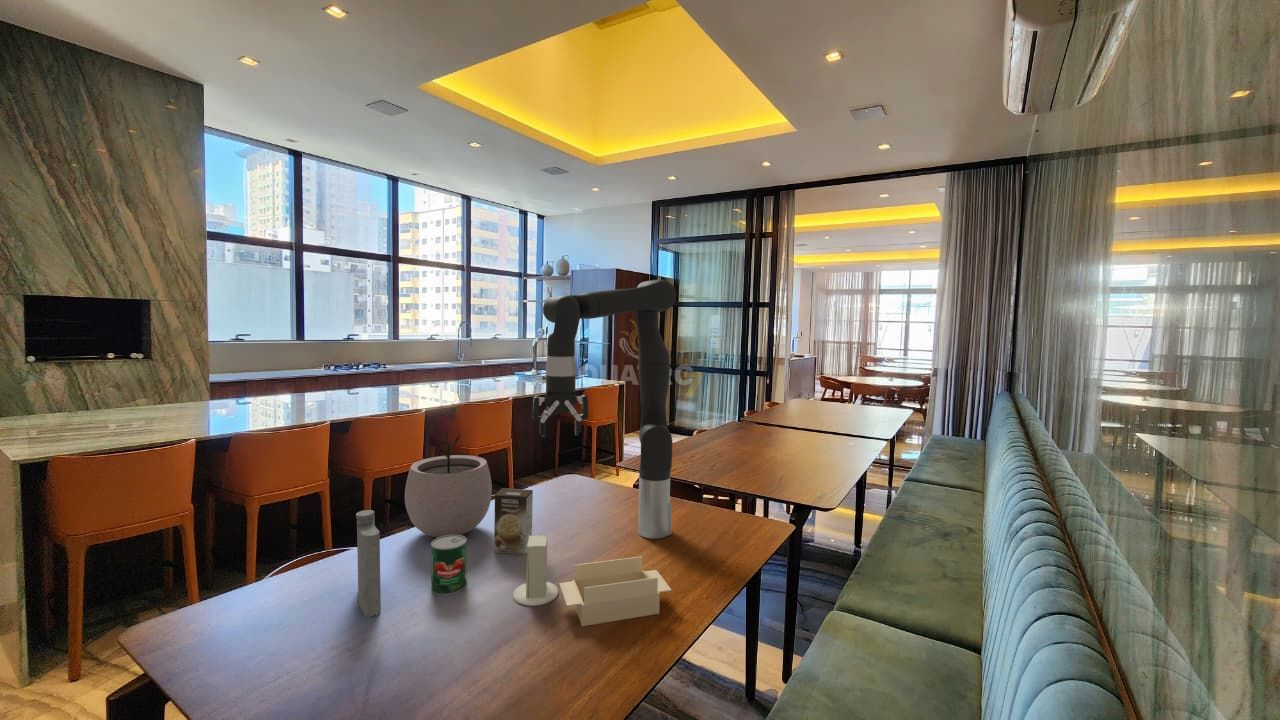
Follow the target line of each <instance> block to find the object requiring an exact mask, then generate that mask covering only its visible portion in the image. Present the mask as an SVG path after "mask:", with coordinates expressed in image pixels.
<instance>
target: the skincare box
mask: <svg viewBox="0 0 1280 720" xmlns="http://www.w3.org/2000/svg"><path fill="white" fill-rule="evenodd" d="M547 567H548V535H547V534H532V535H529V538H528V543H527V553H526V571H525V572H526V574H525V575H526V578H525V579H526V580H525V583H526V598H542V597H545V593H546V582H548V581H547V576H548V575H547V573H548V568H547Z"/></svg>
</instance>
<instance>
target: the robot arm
mask: <svg viewBox="0 0 1280 720" xmlns="http://www.w3.org/2000/svg"><path fill="white" fill-rule="evenodd" d="M676 297H677V292H676V288H675V287H674V286H673V284H672V283H671V282H669V281H667V280H665V279H653V280H645V281H643V282H640V283H639V284H638V285H637V286H636V287H633V288H626V289H625V288H622V289H605V290H595V291H590V292H589V291H588V292H584V293H580V294H569V295H566V294H565V295H555V296H551V297H549V298H547V299H546V301H545V302H543V306H542V314H543V316H544V317H545V319H546V320H547V321H549V322H551V323H553V324H554V327H553V332H551V333H550V334H549V335H548V337H547V343H546V347H547V348H546V349H547V350H546V351H547V352H546V364H545V396H544V397H543V396H537V395H535V396H533V397H532V411H531V419H532V420H533V421H535V422H538V423H539V431H538V432H539V434H540V436H542V438H546V437H547V433H546V432H547V423H546V420H547V419H548V418H549V417H550V416H552V414H553V413H554V414H561V413H563V414H567V413H571V415H572V416H573V417H574V419H575V420H574V435H575V436H576V437H577V436H579V435H580V434H581V433H582V421H583V420H586V419H588V418H589V399H588V396H586V394H582V395H578V396H577V395H576V375H577V374H576V373H577V369H576V356H575V355H576V354H575V351H576V343H575V342H576V341H575V340H576V337H577V333H578V329H579V325H580V320H582V319H583V320H589V319H591V320H592V319H598V318H604V317H608V316H613V315H614V316H615V315H620V314H623V313H629V312H635V316H636V324H637V340H638V341H637V343H638V346H637V347H638V383H639V393H640V401H641V412H640V414H641V417H640V426H639V434H638V435H639V442H640V463H639V471H638V473H639V474H638V475H639V476H638V478H639V479H638V523H637V525H638V528H637V531H638V535H639V536H641V537H643V538H646V539H649V540H651V539H652V540H653V539H654V540H658V539H663V538H666V537H668V536H671V535H672V528H673V527H672V522H673V521H672V520H673V504H672V502H671V500H670V499H671V497H670V496H671V494H670V493H671V471H672V466H673V464H672V463H673V436H672V433H671V432H670V430H669V429H668V421H667V411H666V410H667V409H666V407H667V406H666V405H667V396H668V391H669V388H670V387H669V386H670V376H671V375H670V373H671V372H670V371H671V368H670V367H671V366H670V354H669V351H668V348H667V346H666V343H665V341H664V340H663V338H662V336H661V333H660V328H659V312H666V311H667V310H669V309H671V308H672V307H673V305H674V304H675V301H676V299H677V298H676ZM543 402H544V403H545V404H546V408H545V409H544V410H543V412H542V414H541V415H539V410H540V408H539V407H540V406H542V403H543ZM577 402H578V403H579V404H580V405H581V414H579V413H578V412H577V410H576V408H574V405H575V404H576V403H577Z"/></svg>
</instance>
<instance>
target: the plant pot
mask: <svg viewBox="0 0 1280 720" xmlns="http://www.w3.org/2000/svg"><path fill="white" fill-rule="evenodd" d="M460 437H461V434H459V435H458V436H457V437H456V438H455V440H454V444H453V445H451V446H450V444H451V443H450V441H449V438H448V434H447V432H445V438H446V440H447V441H440V443H441V444H446V445H447V448H446V449H447V450H446V451H447V454H446V453H445V451H443V450H442V449H441V448H439V449H438V450H439V452H440V453H443V455H440V456H434V457H429V458H424V459H421V460H418V461H416V462H414V463H412V464H411V465H410V467H409V471H408V474H407V479H406V482H405V489H404V504H405V509H406V513H407V514H408V518H409V519H410V522H411V523H412V525H413V526H414V528H416V529H417V530H418V531H420V532H421V533H422V534H425V535H427V536H429V537H433V538H439V537H442V536H446V535H462V536H464V535H465V534H467V533H469V532H471V531H472V530H473V529H475V528H476V527H477V526H478V525H479V524H480V523H481V522H482V521H483V519H484V518H485V517H486V516H487V513H488V511H489V508H490V505H491V501H492V490H493V485H492V477H491V472H490V469H489V465H488V461H487V459H485V458H483V457H480V456H476V455H467V454H464V455H463V454H456V455H455V454H451V453H450V450H452V449H453V447H454V448H455V447H456V444H457V442H458V441H459V439H460Z"/></svg>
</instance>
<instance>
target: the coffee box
mask: <svg viewBox="0 0 1280 720" xmlns="http://www.w3.org/2000/svg"><path fill="white" fill-rule="evenodd" d="M533 494H534V491H533V489H523V488H522V489H521V488H509V487H508V488H507V487H502V488H501V489H500V490H498V491H497V492H496V493H495V494H494V527H493V528H494V530H493V531H494V533H493V535H494V536H493V537H494V541H493V544H494V545H493V553H498V554H499V553H501V554H511V555H512V554H515V555H527V543H528V538H529V535H533V506H534V505H533V497H534V495H533Z"/></svg>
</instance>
